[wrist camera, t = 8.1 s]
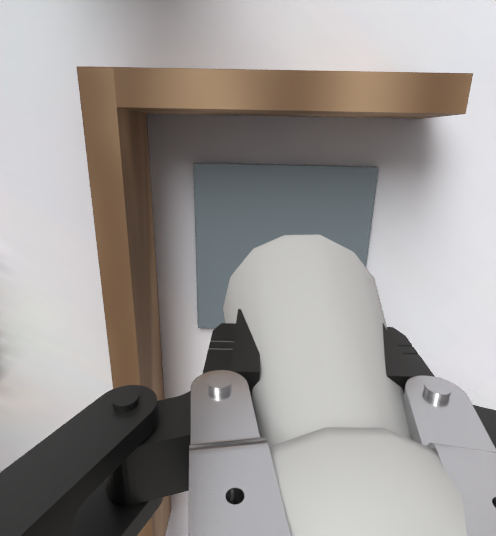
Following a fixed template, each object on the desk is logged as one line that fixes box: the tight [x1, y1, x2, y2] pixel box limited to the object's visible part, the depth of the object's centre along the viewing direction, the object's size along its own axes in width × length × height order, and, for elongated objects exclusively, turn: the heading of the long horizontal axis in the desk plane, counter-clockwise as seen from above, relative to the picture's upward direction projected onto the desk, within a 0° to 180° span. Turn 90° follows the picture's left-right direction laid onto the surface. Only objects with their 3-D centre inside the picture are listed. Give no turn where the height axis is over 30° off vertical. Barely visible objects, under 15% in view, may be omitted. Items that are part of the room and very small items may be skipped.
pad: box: [194, 163, 378, 328], centre depth 22 cm, size 10×10×1 cm
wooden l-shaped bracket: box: [77, 67, 473, 536], centre depth 22 cm, size 16×30×4 cm, turn 179°
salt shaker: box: [223, 234, 467, 536], centre depth 11 cm, size 6×6×13 cm
